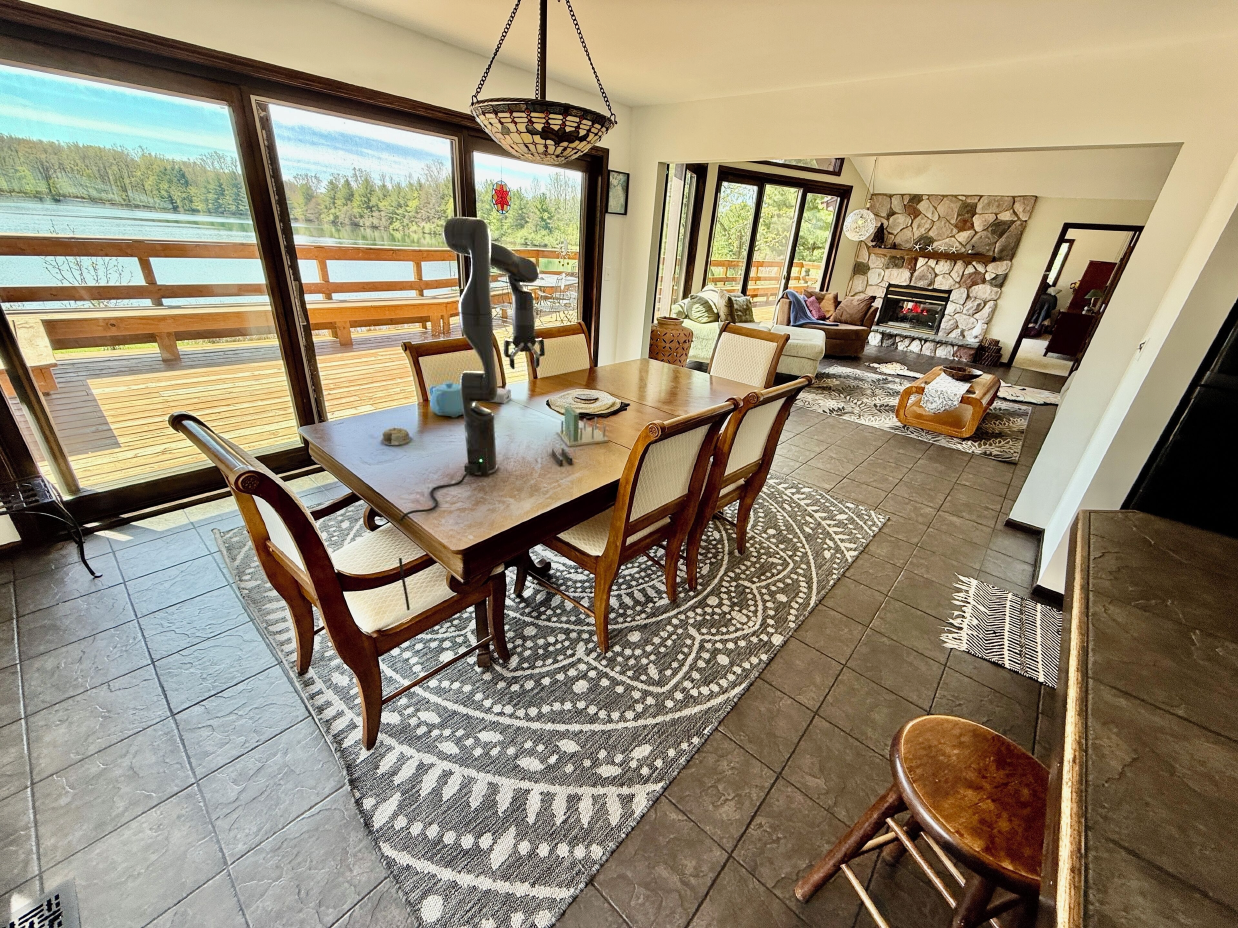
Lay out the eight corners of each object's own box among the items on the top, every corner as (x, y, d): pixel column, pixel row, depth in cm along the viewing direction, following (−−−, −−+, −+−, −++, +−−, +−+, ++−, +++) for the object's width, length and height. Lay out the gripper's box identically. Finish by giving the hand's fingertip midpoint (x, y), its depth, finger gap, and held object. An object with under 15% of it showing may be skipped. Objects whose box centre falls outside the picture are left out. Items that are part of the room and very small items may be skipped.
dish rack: (608, 441, 189) (609, 427, 186) (568, 446, 182) (569, 431, 180) (595, 429, 200) (596, 415, 197) (557, 433, 194) (557, 419, 191)
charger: (481, 395, 231) (511, 398, 229) (473, 400, 223) (504, 404, 221) (480, 385, 229) (510, 388, 227) (472, 390, 221) (503, 394, 219)
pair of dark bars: (572, 464, 168) (572, 458, 167) (560, 466, 166) (560, 459, 165) (563, 453, 176) (563, 447, 175) (551, 454, 175) (551, 448, 174)
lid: (578, 441, 185) (579, 414, 180) (573, 441, 184) (574, 414, 179) (569, 431, 194) (569, 405, 189) (564, 431, 193) (564, 405, 188)
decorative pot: (469, 405, 216) (467, 376, 211) (473, 417, 203) (471, 386, 197) (430, 408, 210) (427, 378, 205) (432, 420, 197) (429, 388, 191)
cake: (399, 434, 183) (398, 421, 181) (416, 441, 179) (416, 428, 177) (375, 440, 175) (374, 426, 173) (393, 448, 171) (392, 433, 169)
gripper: (505, 324, 161) (507, 372, 168) (546, 324, 166) (546, 370, 173) (500, 320, 167) (502, 366, 174) (540, 320, 172) (541, 364, 179)
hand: (524, 368), depth 173 cm, fingers open, 8 cm apart
